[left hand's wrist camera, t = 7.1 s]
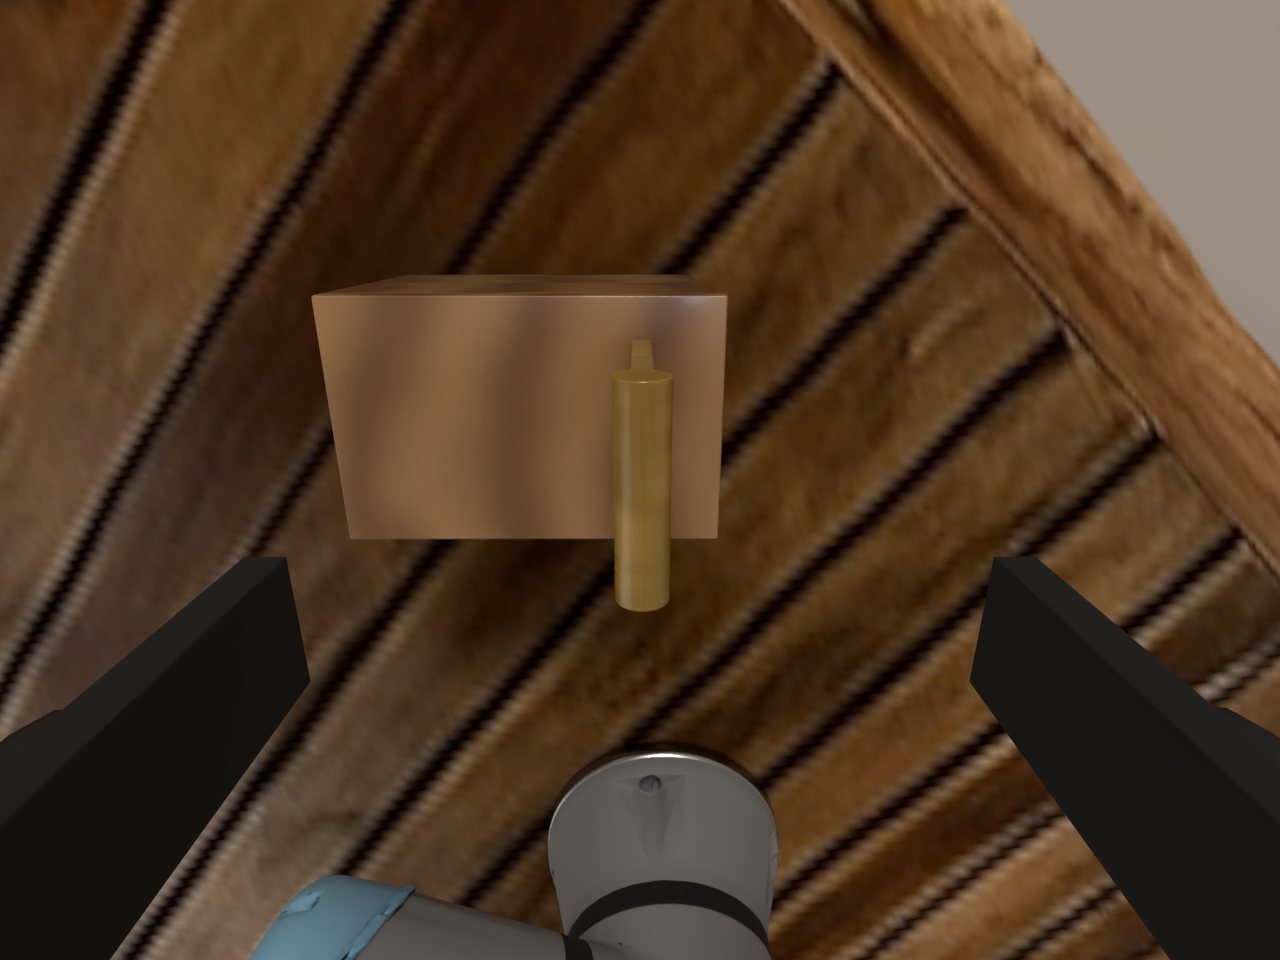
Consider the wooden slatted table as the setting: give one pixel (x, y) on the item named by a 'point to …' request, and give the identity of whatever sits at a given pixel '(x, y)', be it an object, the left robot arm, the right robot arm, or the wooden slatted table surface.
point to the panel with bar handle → (530, 419)
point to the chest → (530, 284)
